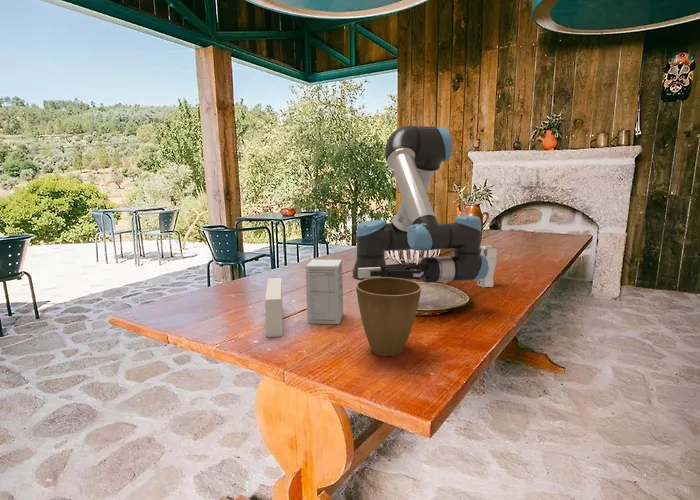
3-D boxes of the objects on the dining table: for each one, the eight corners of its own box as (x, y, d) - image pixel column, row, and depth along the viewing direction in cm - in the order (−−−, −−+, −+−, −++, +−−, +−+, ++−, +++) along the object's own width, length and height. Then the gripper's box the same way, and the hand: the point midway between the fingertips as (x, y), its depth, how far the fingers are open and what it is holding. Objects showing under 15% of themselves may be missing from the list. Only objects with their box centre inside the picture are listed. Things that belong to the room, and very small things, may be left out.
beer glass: (496, 284, 148) (498, 246, 146) (492, 289, 142) (495, 249, 140) (477, 282, 152) (480, 244, 149) (473, 286, 146) (475, 247, 143)
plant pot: (343, 354, 89) (343, 287, 86) (375, 333, 101) (376, 274, 98) (401, 371, 81) (403, 298, 78) (429, 346, 93) (431, 282, 90)
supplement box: (344, 313, 116) (343, 259, 113) (340, 324, 107) (339, 265, 104) (312, 312, 117) (311, 258, 114) (306, 323, 108) (305, 265, 105)
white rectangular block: (282, 308, 121) (281, 277, 119) (282, 336, 99) (281, 299, 98) (269, 309, 120) (268, 278, 118) (266, 337, 99) (265, 299, 97)
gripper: (444, 287, 109) (362, 291, 105) (427, 276, 121) (354, 280, 117) (445, 261, 107) (362, 264, 104) (428, 253, 120) (354, 256, 116)
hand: (358, 273), depth 110 cm, fingers closed
